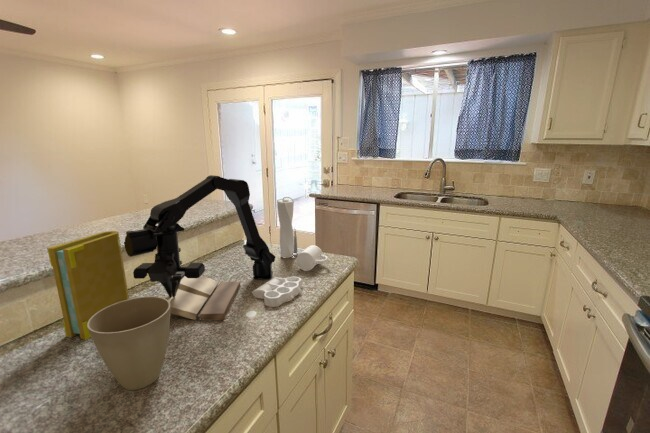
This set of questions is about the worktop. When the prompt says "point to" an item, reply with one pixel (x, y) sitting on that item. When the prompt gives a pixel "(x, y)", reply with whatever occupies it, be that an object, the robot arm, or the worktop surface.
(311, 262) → the mug
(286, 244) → the skyscraper
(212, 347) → the worktop surface
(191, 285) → the oak plank right
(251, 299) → the worktop surface
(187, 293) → the oak plank left
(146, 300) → the plant pot
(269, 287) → the white honeycomb tray
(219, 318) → the walnut board
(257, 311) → the worktop surface
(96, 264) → the book
